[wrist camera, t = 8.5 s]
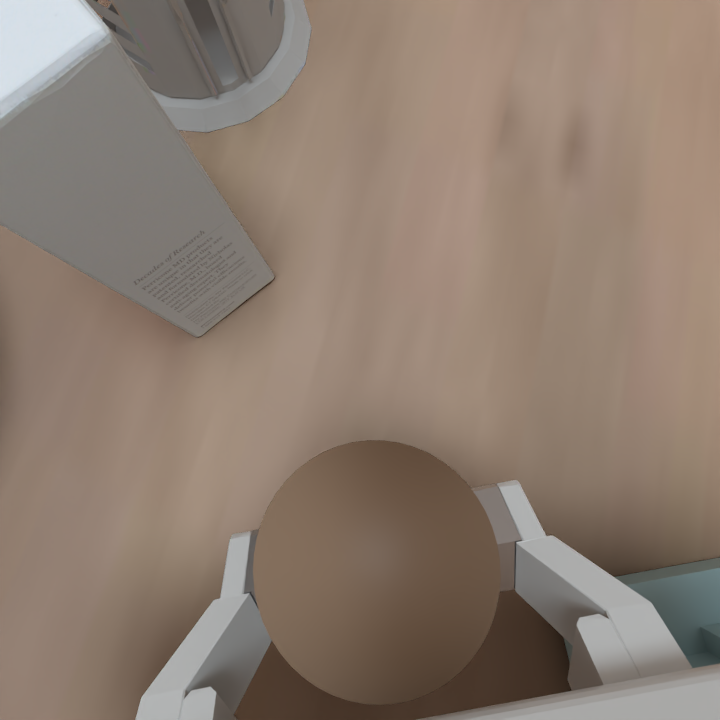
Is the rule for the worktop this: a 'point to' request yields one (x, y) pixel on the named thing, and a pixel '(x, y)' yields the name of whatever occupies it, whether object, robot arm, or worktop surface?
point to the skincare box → (111, 172)
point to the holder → (684, 606)
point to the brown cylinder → (376, 572)
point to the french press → (212, 54)
